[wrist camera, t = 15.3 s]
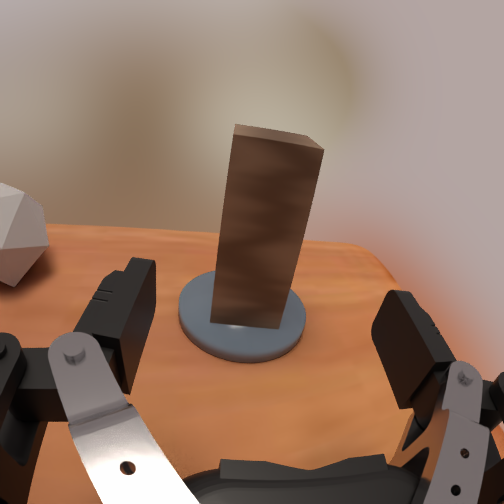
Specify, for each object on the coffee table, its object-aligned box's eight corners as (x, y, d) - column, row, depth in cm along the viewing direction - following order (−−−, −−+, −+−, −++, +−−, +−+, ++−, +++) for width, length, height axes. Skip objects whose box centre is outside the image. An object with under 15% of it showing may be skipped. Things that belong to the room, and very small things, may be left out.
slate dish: (192, 371, 20) (192, 359, 19) (170, 283, 28) (171, 271, 27) (323, 350, 23) (328, 339, 23) (274, 277, 31) (277, 266, 31)
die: (72, 274, 27) (56, 176, 27) (14, 280, 18) (1, 153, 18) (14, 291, 27) (1, 203, 27) (-43, 300, 18) (-54, 191, 18)
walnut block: (209, 322, 22) (233, 134, 16) (214, 282, 27) (235, 123, 20) (278, 329, 23) (324, 149, 17) (272, 289, 27) (306, 135, 21)
